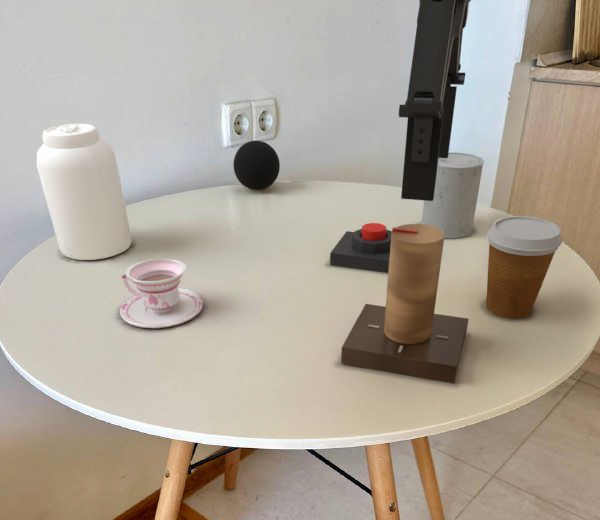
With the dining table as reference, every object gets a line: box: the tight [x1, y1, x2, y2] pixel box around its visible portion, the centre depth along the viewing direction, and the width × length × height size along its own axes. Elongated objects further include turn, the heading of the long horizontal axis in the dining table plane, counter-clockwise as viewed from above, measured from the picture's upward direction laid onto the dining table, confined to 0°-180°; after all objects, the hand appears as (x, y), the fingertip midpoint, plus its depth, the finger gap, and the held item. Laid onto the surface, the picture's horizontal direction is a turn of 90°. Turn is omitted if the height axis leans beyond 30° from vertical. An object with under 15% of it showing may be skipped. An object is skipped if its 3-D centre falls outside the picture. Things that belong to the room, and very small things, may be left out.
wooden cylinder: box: [384, 223, 445, 344], centre depth 71 cm, size 6×6×13 cm
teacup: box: [119, 258, 204, 329], centre depth 85 cm, size 12×12×6 cm
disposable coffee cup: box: [485, 215, 563, 320], centre depth 81 cm, size 10×10×12 cm
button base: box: [329, 228, 392, 274], centre depth 99 cm, size 12×10×4 cm
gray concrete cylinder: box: [420, 152, 485, 239], centre depth 106 cm, size 10×10×12 cm
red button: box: [361, 222, 387, 241], centre depth 97 cm, size 4×4×2 cm
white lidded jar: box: [36, 123, 133, 261], centre depth 100 cm, size 12×12×20 cm
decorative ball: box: [232, 140, 281, 191], centre depth 128 cm, size 10×10×10 cm
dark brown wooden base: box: [340, 303, 470, 384], centre depth 76 cm, size 14×12×3 cm
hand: (426, 176), depth 56 cm, fingers open, 13 cm apart
